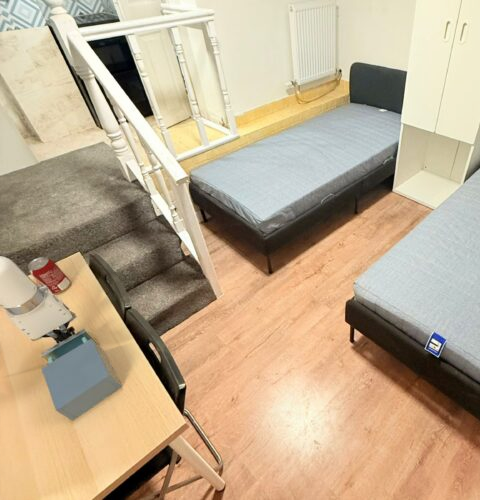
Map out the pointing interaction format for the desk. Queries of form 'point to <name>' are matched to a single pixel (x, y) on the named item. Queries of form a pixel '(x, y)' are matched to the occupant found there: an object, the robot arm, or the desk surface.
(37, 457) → the desk surface
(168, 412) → the desk surface
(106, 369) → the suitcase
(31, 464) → the desk surface
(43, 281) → the soda can
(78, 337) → the drawer
